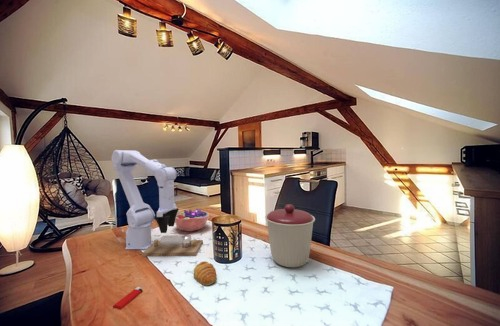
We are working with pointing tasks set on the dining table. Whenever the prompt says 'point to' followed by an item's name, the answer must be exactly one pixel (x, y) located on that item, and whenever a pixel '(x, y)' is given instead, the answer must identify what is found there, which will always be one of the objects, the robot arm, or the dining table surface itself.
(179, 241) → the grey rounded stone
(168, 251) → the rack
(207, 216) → the cell model
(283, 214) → the canister
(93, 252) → the dining table surface
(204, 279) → the pastry
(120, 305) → the lighter
